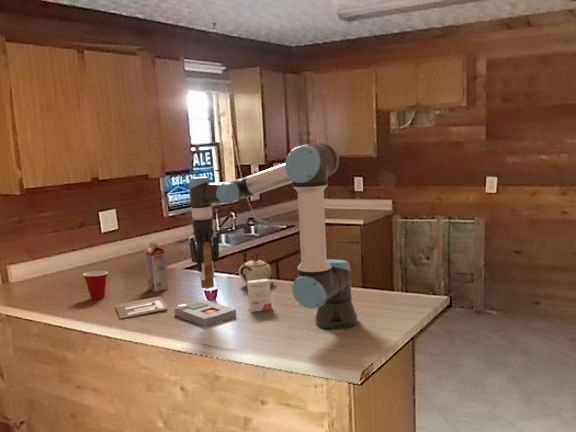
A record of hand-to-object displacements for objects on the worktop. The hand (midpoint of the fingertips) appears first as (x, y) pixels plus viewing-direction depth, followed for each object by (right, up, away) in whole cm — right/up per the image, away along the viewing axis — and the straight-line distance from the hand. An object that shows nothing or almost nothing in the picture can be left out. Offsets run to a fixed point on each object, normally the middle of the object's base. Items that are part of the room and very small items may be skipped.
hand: (207, 278), depth 218 cm
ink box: (+20, -14, +9) cm, 26 cm away
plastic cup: (-55, -14, +41) cm, 70 cm away
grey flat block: (-2, -15, +5) cm, 16 cm away
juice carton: (-30, -11, +50) cm, 60 cm away
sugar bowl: (+16, -8, +46) cm, 50 cm away
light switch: (-30, -16, +20) cm, 40 cm away
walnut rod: (0, -4, +1) cm, 4 cm away
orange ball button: (+1, -14, +2) cm, 14 cm away
